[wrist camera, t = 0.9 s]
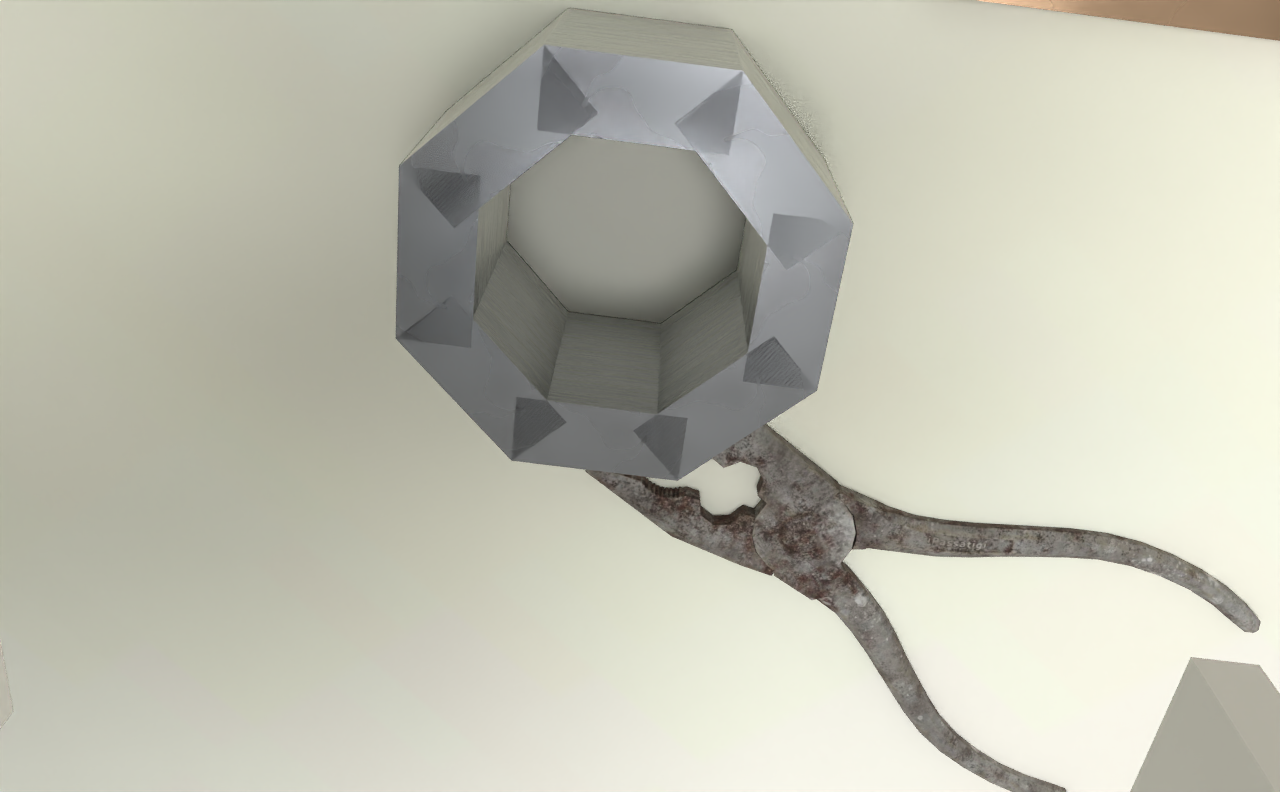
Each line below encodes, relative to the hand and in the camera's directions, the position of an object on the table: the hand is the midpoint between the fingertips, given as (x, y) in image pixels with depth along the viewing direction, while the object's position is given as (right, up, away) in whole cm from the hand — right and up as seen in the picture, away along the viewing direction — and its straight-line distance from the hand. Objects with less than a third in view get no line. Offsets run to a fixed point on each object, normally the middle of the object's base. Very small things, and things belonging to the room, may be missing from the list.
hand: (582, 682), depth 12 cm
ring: (0, +8, +15) cm, 17 cm away
